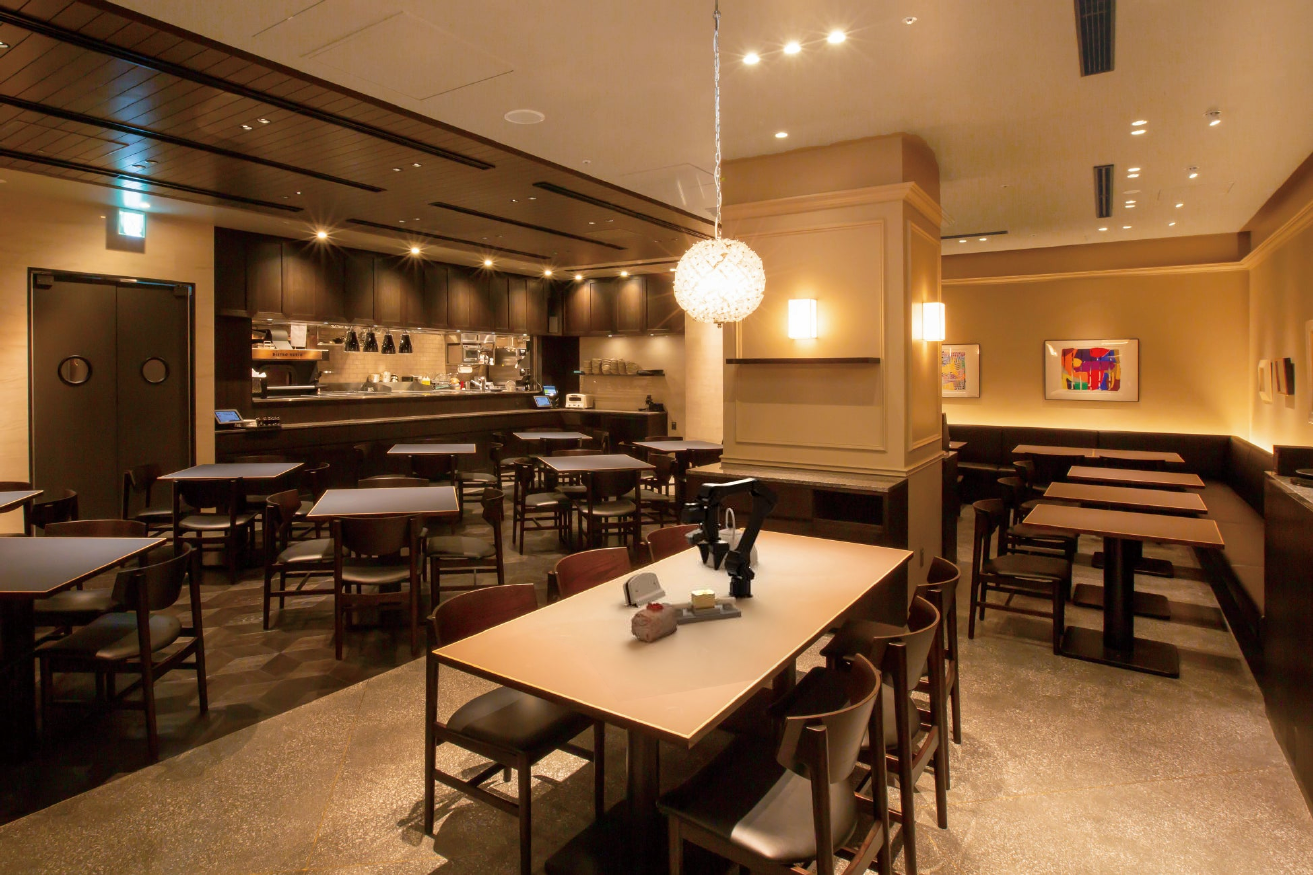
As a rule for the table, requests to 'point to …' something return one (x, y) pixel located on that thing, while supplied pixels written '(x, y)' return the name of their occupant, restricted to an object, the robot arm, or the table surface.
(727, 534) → the kettle
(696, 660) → the table surface
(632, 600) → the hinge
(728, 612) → the shaft stand
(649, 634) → the food item
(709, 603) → the block
